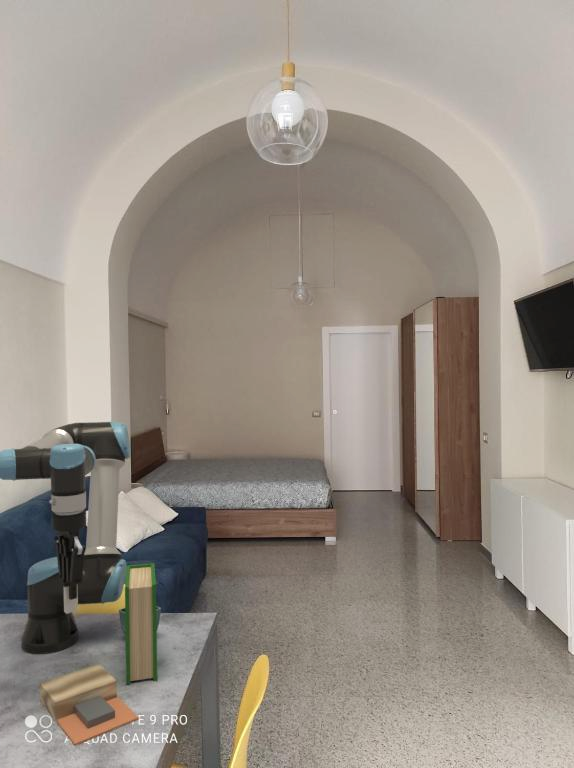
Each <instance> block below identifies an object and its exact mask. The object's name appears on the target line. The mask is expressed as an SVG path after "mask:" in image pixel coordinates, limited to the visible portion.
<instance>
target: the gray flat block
mask: <svg viewBox="0 0 574 768" xmlns="http://www.w3.org/2000/svg"><path fill="white" fill-rule="evenodd" d="M74 713H75V714H76V715H77V716H78V717H79V719H80V720H81V721H82V722H83V723H84V724H85V726H86V727H87V728H88V729H89V728H91V727H93V726H96V725H98V724H101V723H103V722H106V721H108V720H111V719H113V718H115V710H114V709H113V708H112V707H111V706H110V705H109V704H108V703H107V702H106V701H105V700H104V699H103V698H102V697H101V696H98V697H96V698H93V699H90V700H88V701H85V702H82V703H79V704H77V705H74Z"/></svg>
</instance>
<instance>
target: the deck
mask: <svg viewBox="0 0 574 768" xmlns="http://www.w3.org/2000/svg"><path fill="white" fill-rule="evenodd" d="M117 686H118V684H117V680H116V678H115V677H113V676H112V675H111V674H110V673H109V672H108V671H107V670H106V669H105V668H104V667H102V665H100V664H99V663H96V664H93V665H90V666H87V667H84V668H81V669H78V670H75V671H72V672H70V673H69V672H68V673H66V674H63V675H60V676H57V677H54V678H51V679H48V680H45V681H42V682H39V701H40V702H41V704H42V705H43V706H44V708H45V709H46V710H47V711H48V713H49V714H50V715H51V717H52V718H53V719H54V721H56V722H57V720H58V719H61V718H63V717H66V716H69V715H71V714H74V705H77V704H79V703H82V702H85V701H88V700H90V699H93V698H96V697H98V696H101V697H102V698H103V699H104V700H105V701H108V700H111V699H114V698H116V697H118V693H117V692H118V690H117V689H118V687H117Z"/></svg>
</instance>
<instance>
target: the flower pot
mask: <svg viewBox="0 0 574 768" xmlns="http://www.w3.org/2000/svg"><path fill="white" fill-rule="evenodd" d="M161 610H162V607H160V606H157V605H156V624H157V630H158V629H159V625H160V621H161V620H160V619H161ZM118 616H119V623H120V628H121V631H122V633H123V635H124V636H125V637H126V632H125V607H122V608H120V609H119V610H118Z"/></svg>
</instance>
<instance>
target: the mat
mask: <svg viewBox="0 0 574 768" xmlns="http://www.w3.org/2000/svg"><path fill="white" fill-rule="evenodd" d="M106 702H107V703H108V704H109V705H110V706H111V707H112V708H113V709H114V710H115V718H113V719H111V720H108V721H106V722H103V723H101V724H98V725H96V726H93V727H91V728H89V729H88V728H87V727H86V726H85V724H84V723H83V722H82V721H81V720H80V719H79V717H78V716H77V715H76V714H75V713H74V714H71V715H69V716H66V717H63V718H61V719H58V720H57V721H56V723H57V724H58V726H59V727H60V729H61V730H62V731H63V732H64V734H65V735H66V736H67V738H68V739H69V740H70V741H71V743H72V744H73V746H78V745H80V744H82V743H85V742H88V741H90V740H92V739H94V738H97V737H99V736H102V735H104V734H107V733H108V731H109V732H111V731H114V730H115V728H116V729H118V727H119V728H121V727H124V726H126V725H128V724H131V723H133V722H135V721H137V720H139V719H140V718H139V716H138V715H137V714H136V713H135V712H134V711H133V710H132V709H131V708H130V707H129V706H128V705H127V704H126V703H125V702H124V701H122V700H121V698H120V697H119V696H117V697H116V698H114V699H111V700H108V701H106ZM123 725H124V726H123ZM113 729H114V730H113ZM106 732H107V733H106Z"/></svg>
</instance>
